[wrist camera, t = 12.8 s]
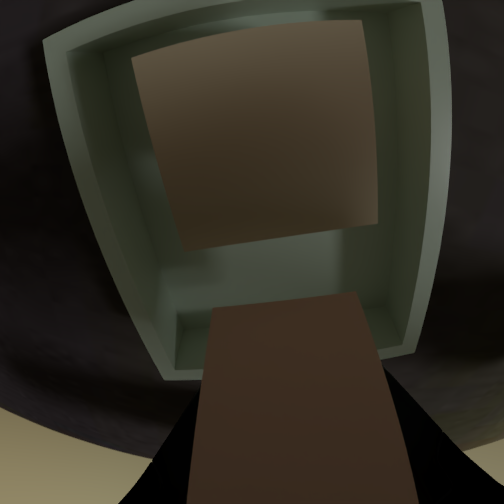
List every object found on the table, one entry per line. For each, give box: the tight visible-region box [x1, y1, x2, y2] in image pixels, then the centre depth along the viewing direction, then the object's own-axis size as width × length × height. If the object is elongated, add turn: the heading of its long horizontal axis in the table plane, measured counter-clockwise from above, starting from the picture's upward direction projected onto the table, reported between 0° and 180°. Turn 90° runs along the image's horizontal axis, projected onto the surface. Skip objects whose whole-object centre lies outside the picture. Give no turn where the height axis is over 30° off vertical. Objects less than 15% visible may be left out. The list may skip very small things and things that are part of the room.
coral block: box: [186, 291, 419, 504], centre depth 7 cm, size 4×4×6 cm
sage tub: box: [43, 0, 452, 380], centre depth 11 cm, size 15×12×4 cm
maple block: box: [131, 20, 378, 252], centre depth 8 cm, size 4×4×6 cm
